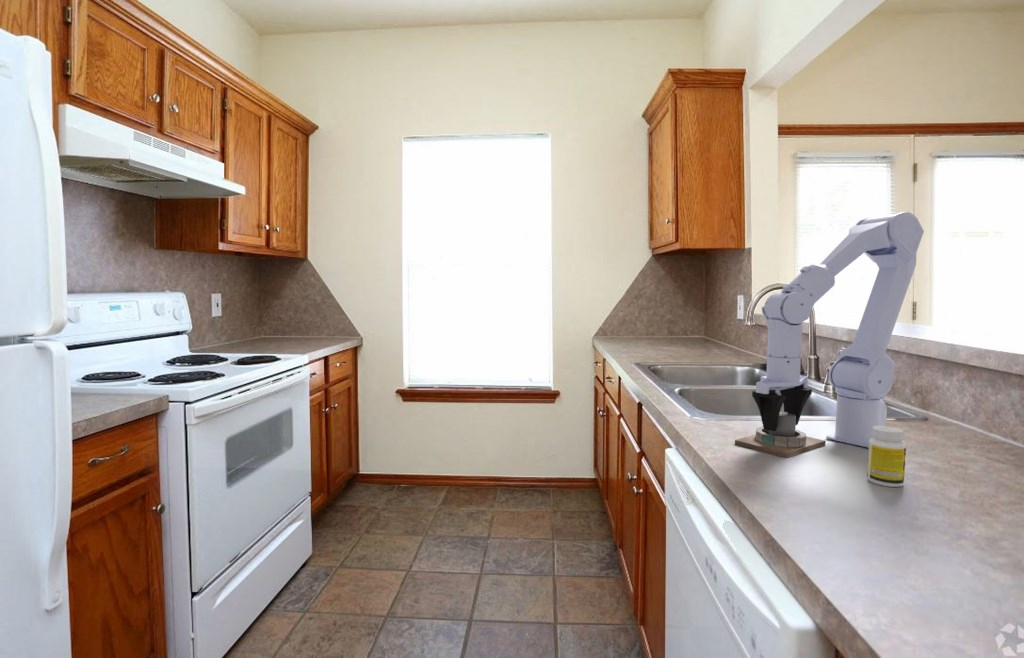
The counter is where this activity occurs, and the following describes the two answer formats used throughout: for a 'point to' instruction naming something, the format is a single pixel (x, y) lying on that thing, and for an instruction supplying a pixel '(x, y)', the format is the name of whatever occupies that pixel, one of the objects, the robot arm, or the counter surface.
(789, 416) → the knob
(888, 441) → the supplement bottle
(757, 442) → the hub plate
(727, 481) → the counter surface
